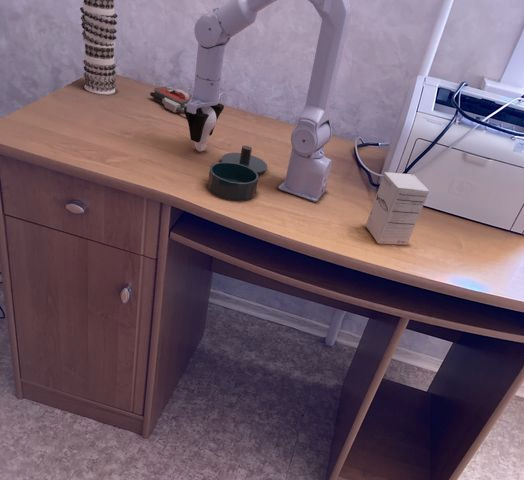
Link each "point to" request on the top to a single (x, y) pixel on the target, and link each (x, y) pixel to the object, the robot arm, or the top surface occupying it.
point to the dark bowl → (232, 181)
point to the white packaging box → (396, 208)
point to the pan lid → (246, 160)
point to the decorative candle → (99, 45)
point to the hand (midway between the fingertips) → (201, 137)
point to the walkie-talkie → (171, 98)
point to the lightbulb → (206, 128)
